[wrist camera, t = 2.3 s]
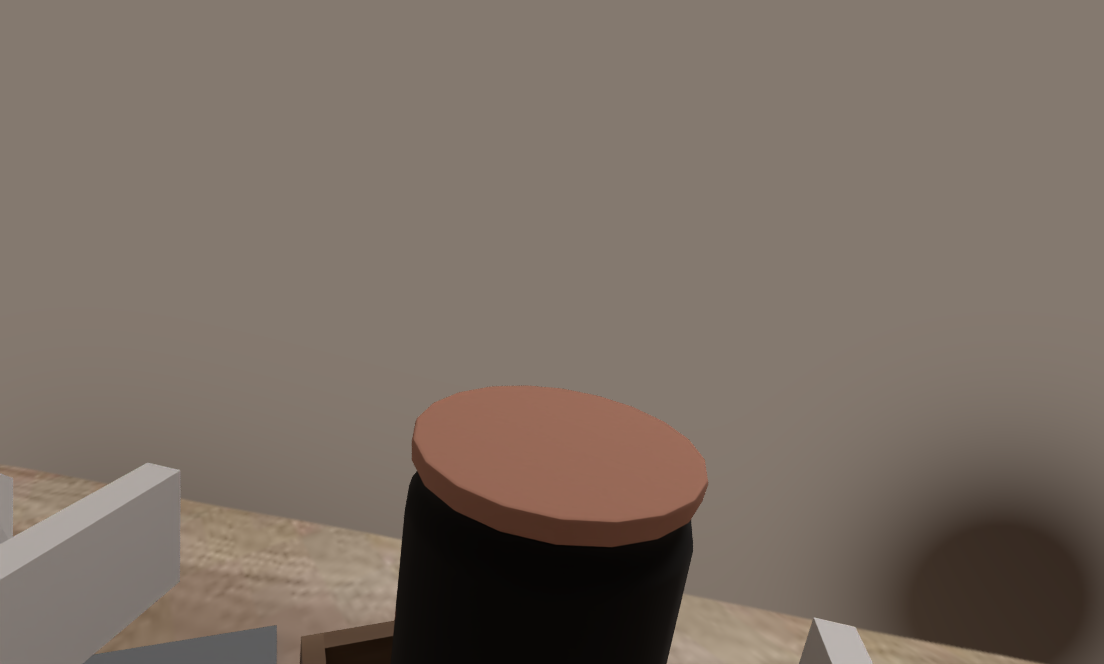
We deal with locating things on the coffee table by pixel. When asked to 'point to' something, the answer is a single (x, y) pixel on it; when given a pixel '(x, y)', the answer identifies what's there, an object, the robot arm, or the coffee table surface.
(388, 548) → the coffee table surface
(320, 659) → the walnut crate
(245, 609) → the coffee table surface
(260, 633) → the rubber mat
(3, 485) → the die
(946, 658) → the coffee table surface
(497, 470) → the coffee jar
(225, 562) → the coffee table surface
